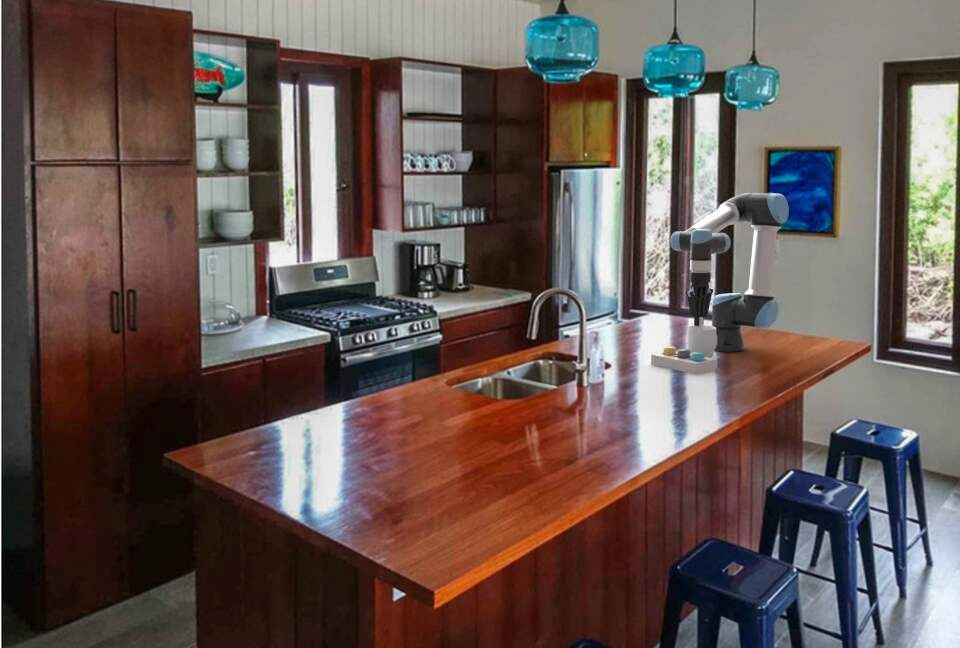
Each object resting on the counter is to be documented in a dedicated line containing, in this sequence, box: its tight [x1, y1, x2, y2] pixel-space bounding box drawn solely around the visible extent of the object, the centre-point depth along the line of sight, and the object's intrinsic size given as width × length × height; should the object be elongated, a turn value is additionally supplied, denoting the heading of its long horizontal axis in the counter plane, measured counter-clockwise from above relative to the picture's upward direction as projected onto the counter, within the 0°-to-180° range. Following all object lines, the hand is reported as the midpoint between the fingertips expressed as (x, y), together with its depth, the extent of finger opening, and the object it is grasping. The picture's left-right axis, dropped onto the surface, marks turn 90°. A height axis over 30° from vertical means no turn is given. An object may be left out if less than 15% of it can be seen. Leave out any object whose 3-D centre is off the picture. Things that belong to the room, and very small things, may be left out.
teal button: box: [691, 352, 705, 362], centre depth 334 cm, size 5×5×4 cm
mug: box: [686, 324, 717, 358], centre depth 352 cm, size 15×11×13 cm
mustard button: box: [662, 345, 677, 356], centre depth 345 cm, size 5×5×4 cm
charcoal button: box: [676, 348, 690, 359], centre depth 340 cm, size 5×5×4 cm
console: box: [650, 350, 718, 375], centre depth 340 cm, size 12×22×4 cm, turn 36°
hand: (698, 334), depth 332 cm, fingers closed
